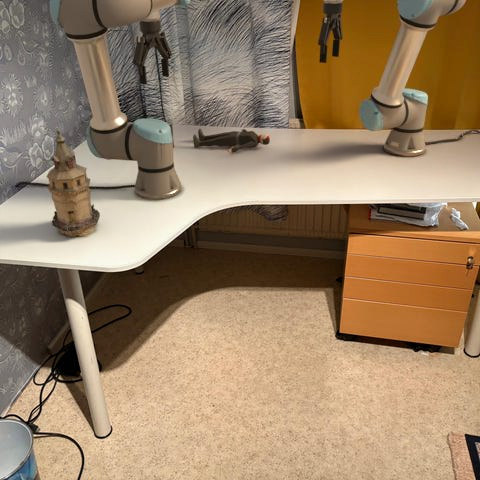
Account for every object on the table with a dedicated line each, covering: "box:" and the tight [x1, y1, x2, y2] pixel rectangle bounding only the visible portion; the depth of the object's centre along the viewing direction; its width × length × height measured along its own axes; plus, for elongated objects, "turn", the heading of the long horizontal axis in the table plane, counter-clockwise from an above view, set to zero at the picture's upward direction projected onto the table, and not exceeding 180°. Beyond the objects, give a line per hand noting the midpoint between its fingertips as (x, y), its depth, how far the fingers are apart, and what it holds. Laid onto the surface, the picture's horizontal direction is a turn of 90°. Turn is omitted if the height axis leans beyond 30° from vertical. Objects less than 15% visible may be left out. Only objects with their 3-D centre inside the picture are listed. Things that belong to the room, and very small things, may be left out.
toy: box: [192, 128, 271, 155], centre depth 214 cm, size 26×6×30 cm
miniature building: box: [46, 129, 101, 237], centre depth 148 cm, size 13×14×30 cm
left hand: (155, 80), depth 202 cm, fingers open, 13 cm apart
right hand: (329, 59), depth 217 cm, fingers open, 13 cm apart
